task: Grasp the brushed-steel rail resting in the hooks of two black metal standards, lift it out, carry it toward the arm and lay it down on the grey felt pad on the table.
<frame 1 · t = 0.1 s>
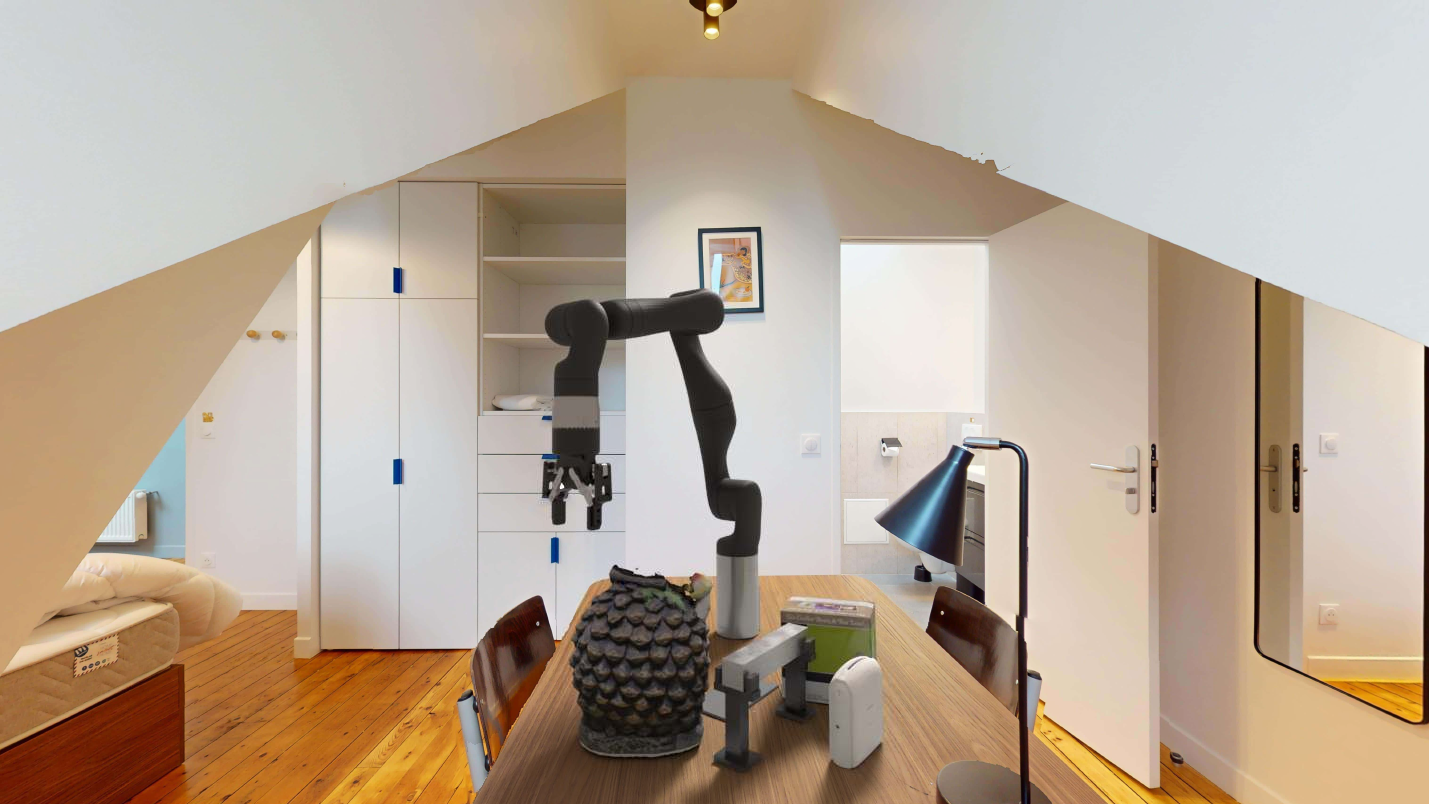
hand: (575, 527, 93), 29 cm above the table, tool pointing down, fingers open, 8 cm apart
standard 2: (795, 713, 92), on the table
tea box: (830, 693, 99), on the table
standard 1: (737, 760, 79), on the table
rail: (768, 666, 86), point 10 cm above the table, touching standard 1, standard 2
scaly pinecone sculpture: (641, 740, 85), on the table
photo printer: (857, 752, 82), on the table
pad: (734, 696, 98), on the table
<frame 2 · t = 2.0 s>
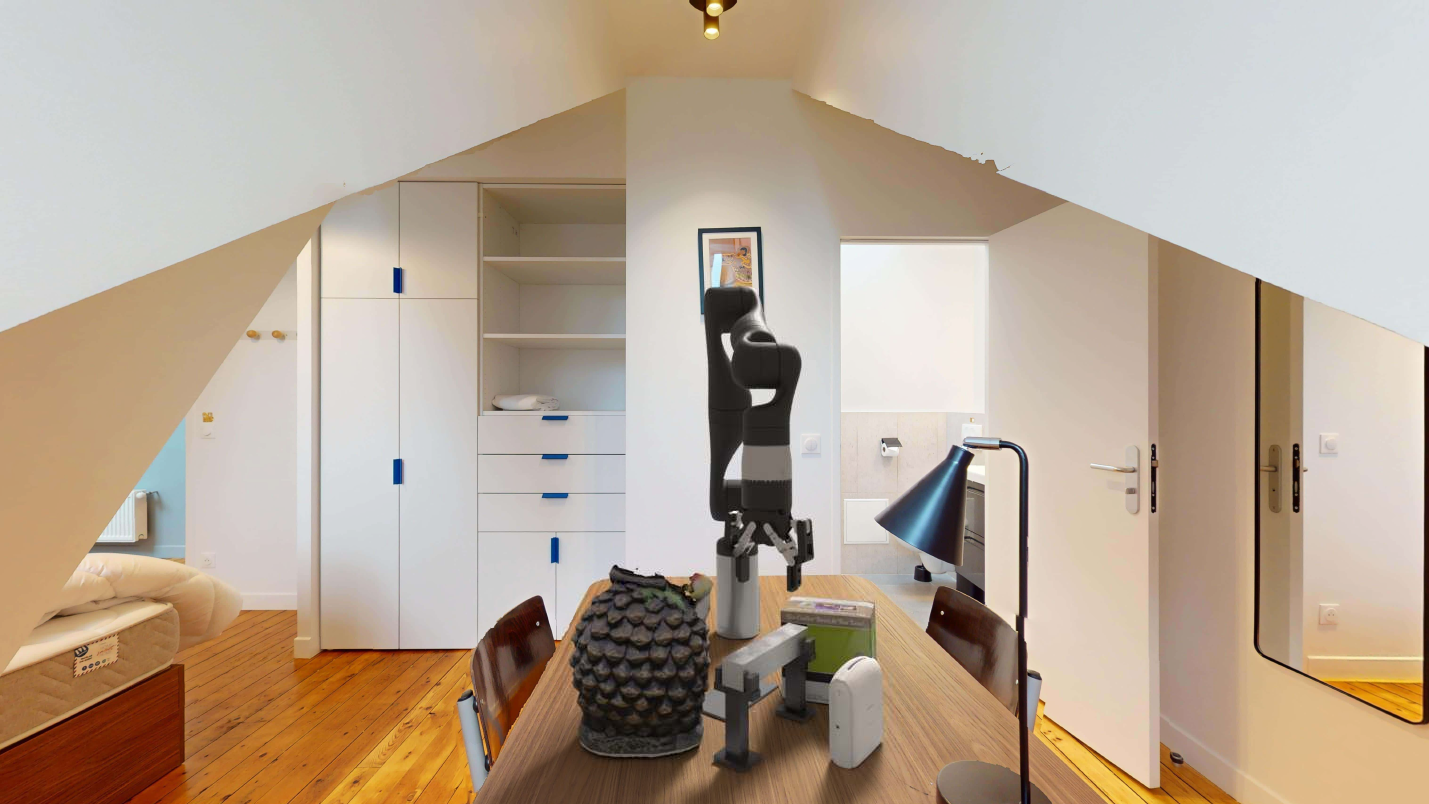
hand: (767, 586, 86), 22 cm above the table, tool pointing down, fingers open, 8 cm apart
nothing on the table moved.
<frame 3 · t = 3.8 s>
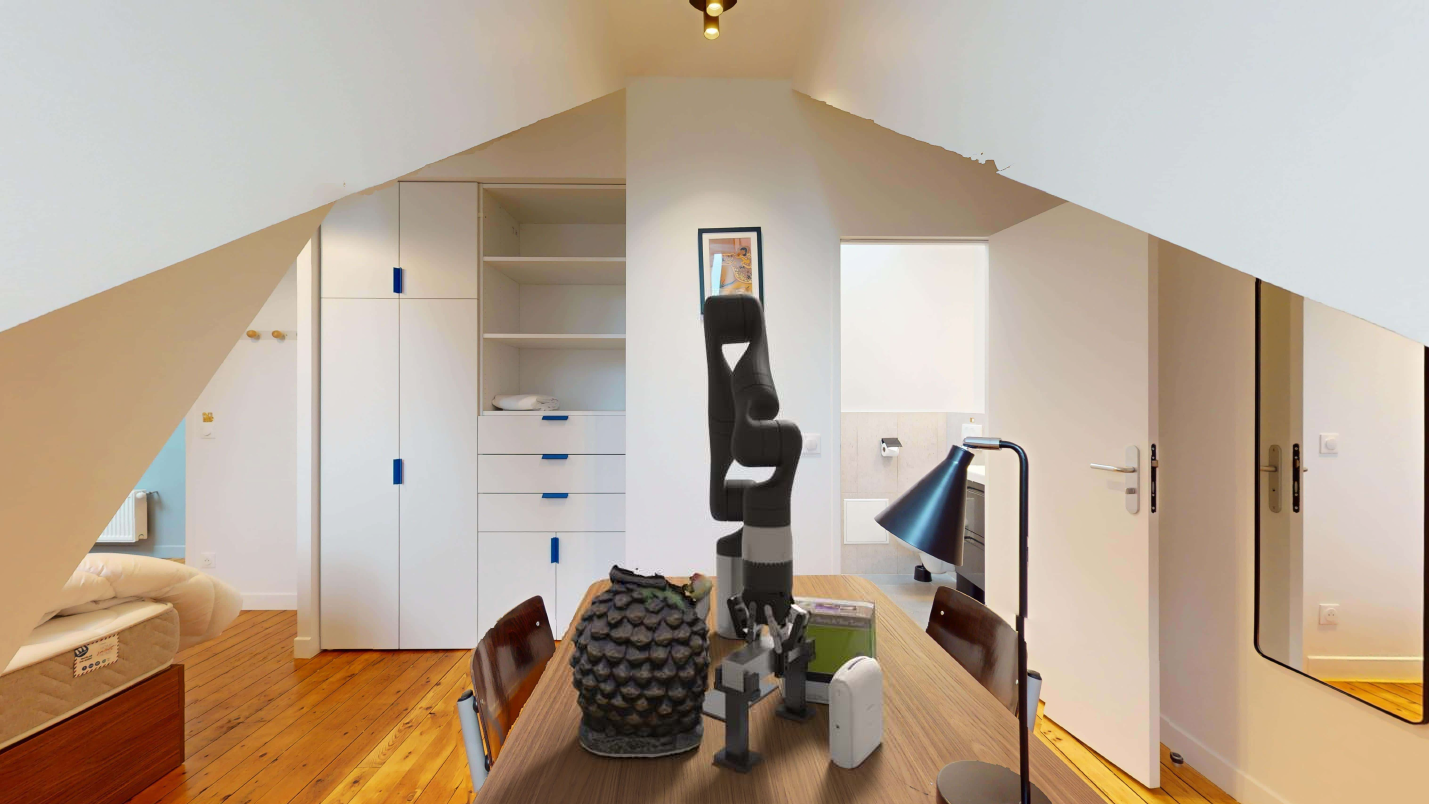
hand: (768, 672, 86), 9 cm above the table, tool pointing down, fingers closed on rail, 3 cm apart
rail: (768, 666, 86), point 10 cm above the table, touching gripper, standard 1, standard 2
everything else where it was.
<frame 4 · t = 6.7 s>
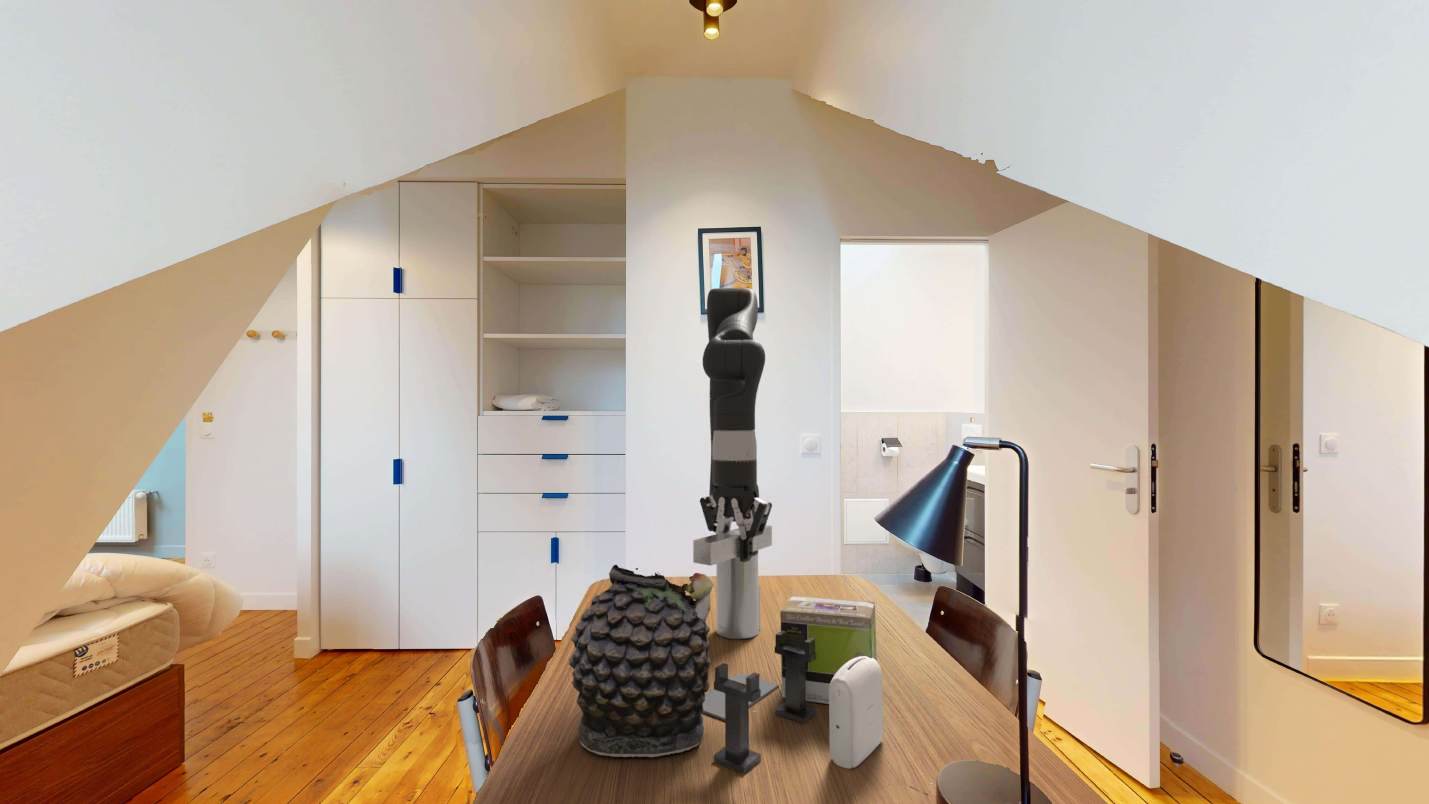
hand: (735, 558, 99), 23 cm above the table, tool pointing down, fingers closed on rail, 3 cm apart
rail: (735, 553, 99), point 24 cm above the table, touching gripper
everything else where it was.
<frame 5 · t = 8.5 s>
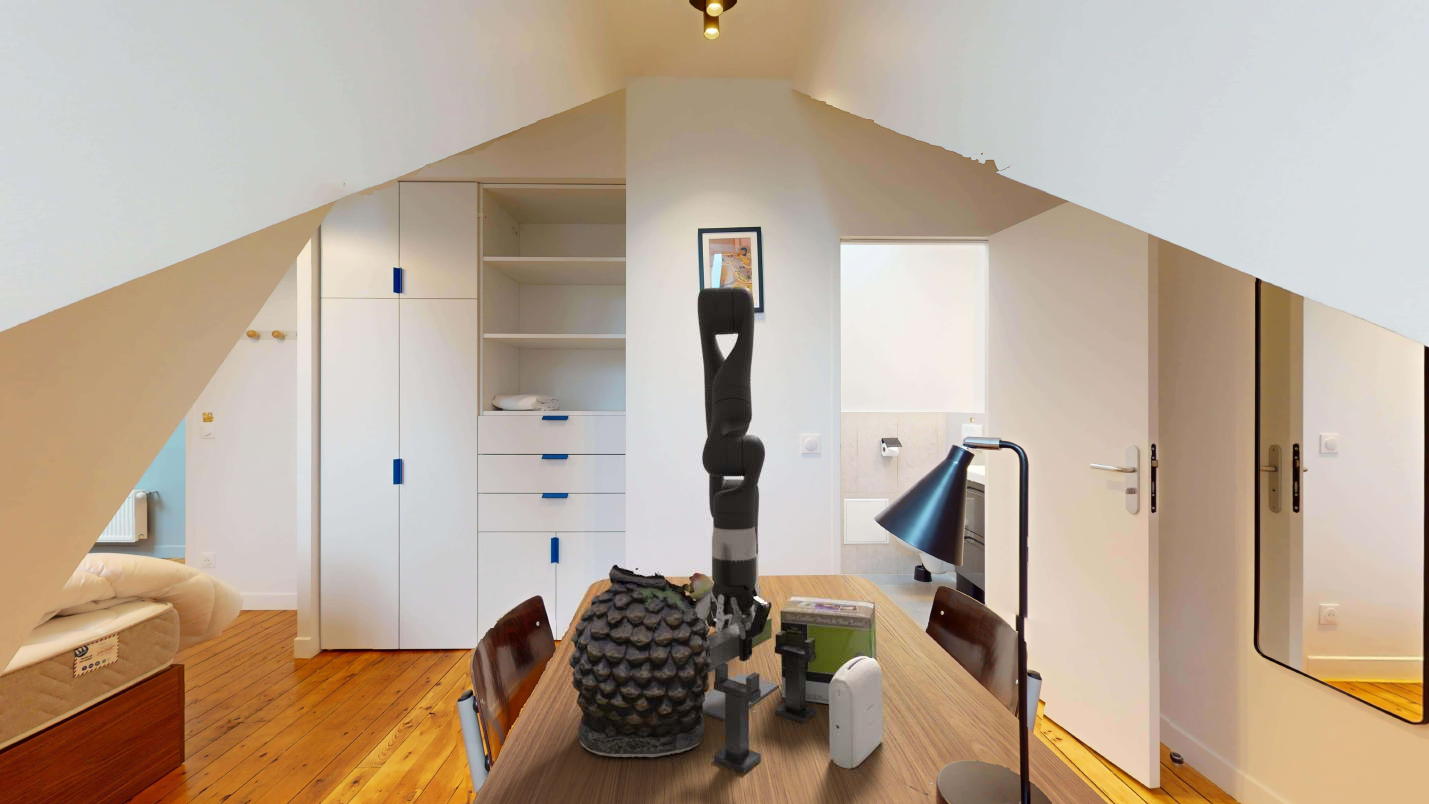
hand: (734, 656, 98), 7 cm above the table, tool pointing down, fingers closed on rail, 3 cm apart
rail: (734, 650, 98), point 8 cm above the table, touching gripper
everything else where it was.
when the fingers open (1 cm above the table, at t = 9.8 s): rail drops 2 cm, resting on pad.
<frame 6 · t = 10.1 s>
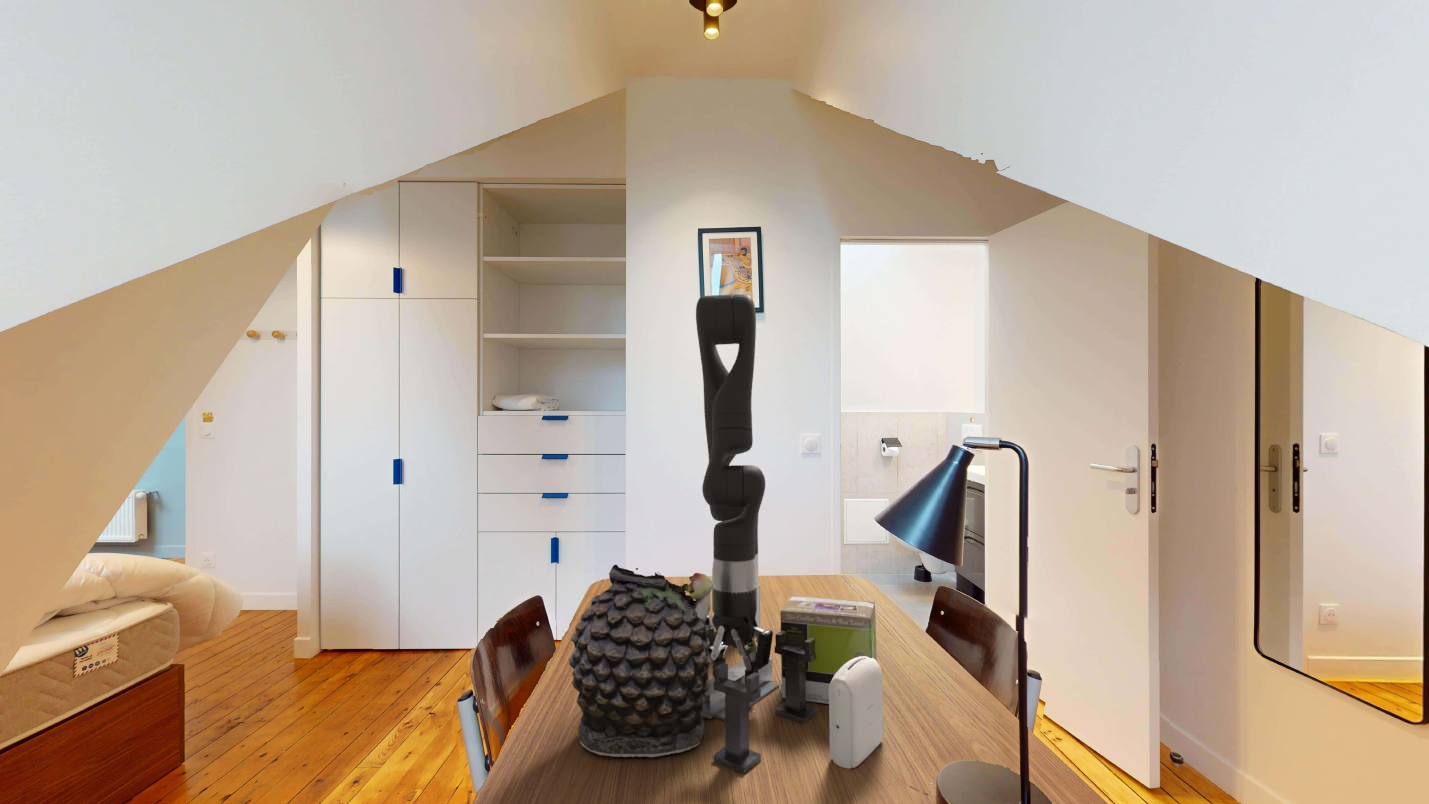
hand: (734, 685, 98), 2 cm above the table, tool pointing down, fingers open, 5 cm apart
rail: (734, 694, 98), resting on pad
everything else where it was.
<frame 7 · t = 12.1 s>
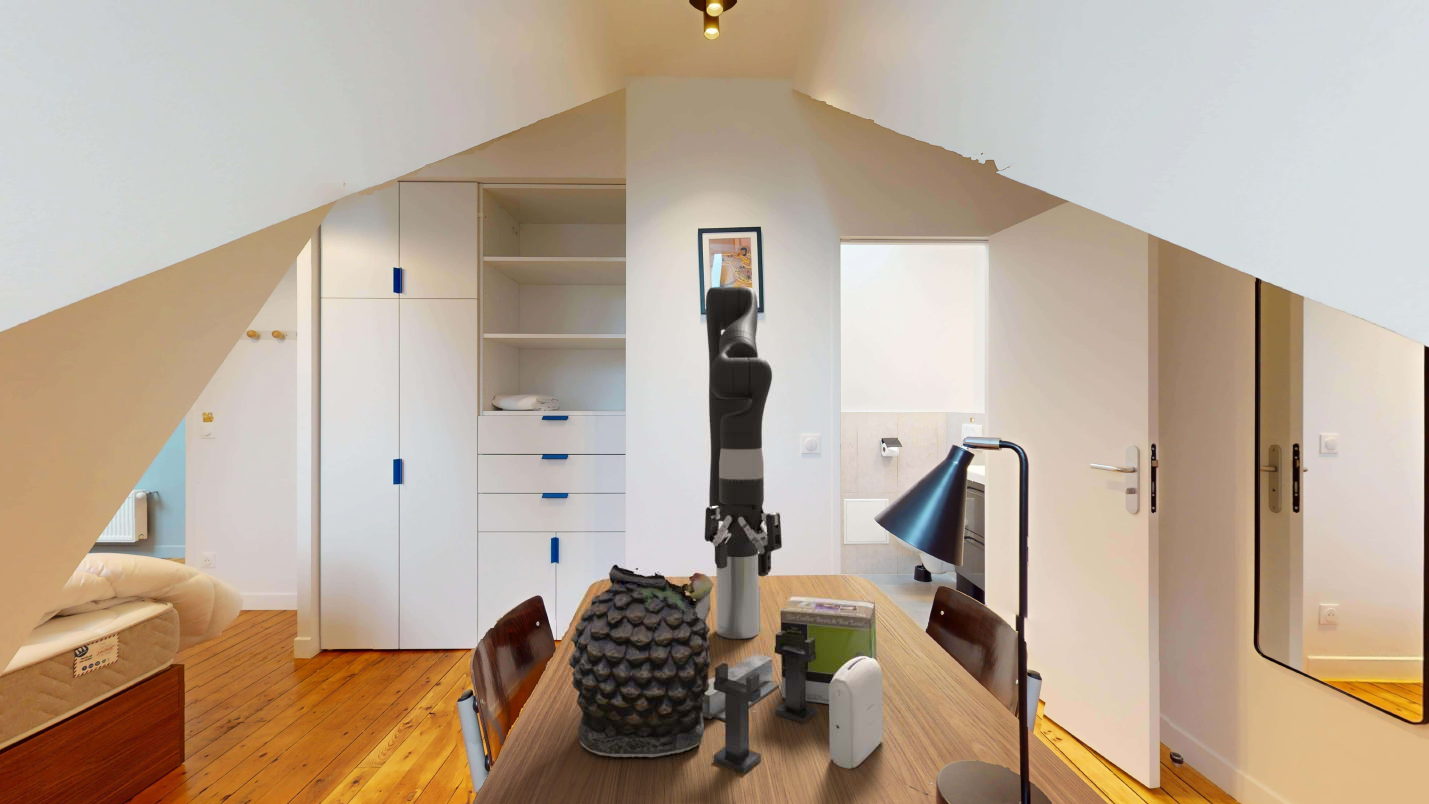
hand: (742, 571, 99), 21 cm above the table, tool pointing down, fingers open, 8 cm apart
nothing on the table moved.
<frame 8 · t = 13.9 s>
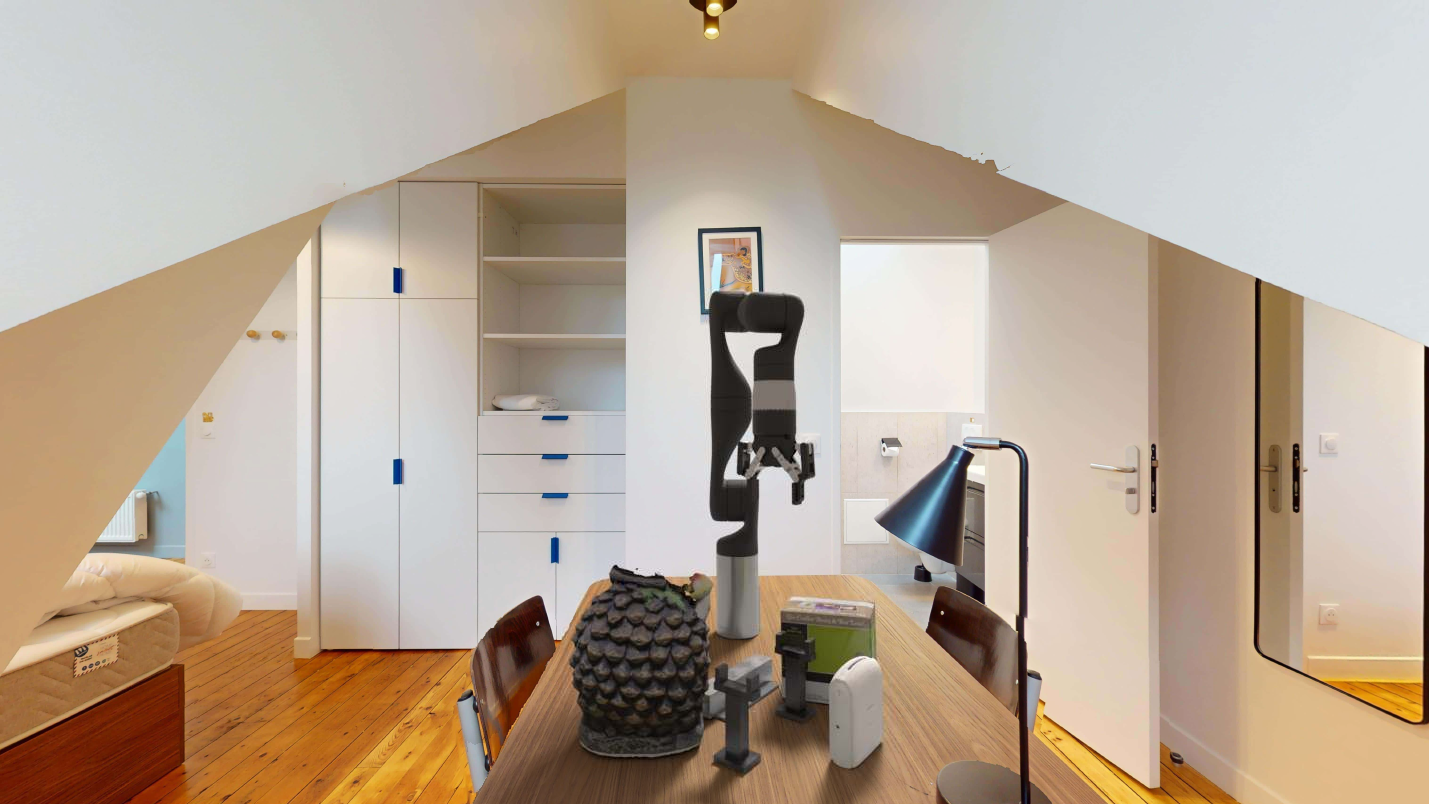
hand: (774, 502, 100), 32 cm above the table, tool pointing down, fingers open, 8 cm apart
nothing on the table moved.
at the end: rail inside the target area on the pad (0.0 cm from its centre), point 0.4 cm above the pad's base; rail resting on pad; the gripper is holding nothing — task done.
